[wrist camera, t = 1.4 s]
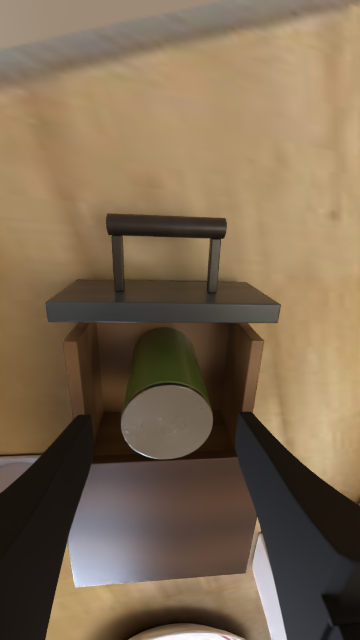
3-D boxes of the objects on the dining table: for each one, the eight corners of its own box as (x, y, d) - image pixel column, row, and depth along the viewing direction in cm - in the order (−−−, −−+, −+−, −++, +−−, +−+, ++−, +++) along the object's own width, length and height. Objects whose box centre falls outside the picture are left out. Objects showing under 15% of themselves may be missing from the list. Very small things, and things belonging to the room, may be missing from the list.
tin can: (192, 380, 22) (210, 458, 15) (134, 381, 22) (121, 462, 14) (195, 326, 21) (217, 383, 13) (132, 326, 20) (117, 385, 13)
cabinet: (85, 391, 24) (53, 465, 17) (236, 388, 25) (269, 456, 18) (96, 494, 29) (75, 587, 21) (224, 487, 30) (245, 573, 23)
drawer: (71, 213, 18) (30, 208, 12) (254, 220, 19) (296, 219, 13) (91, 412, 24) (70, 472, 18) (231, 409, 25) (253, 464, 19)
